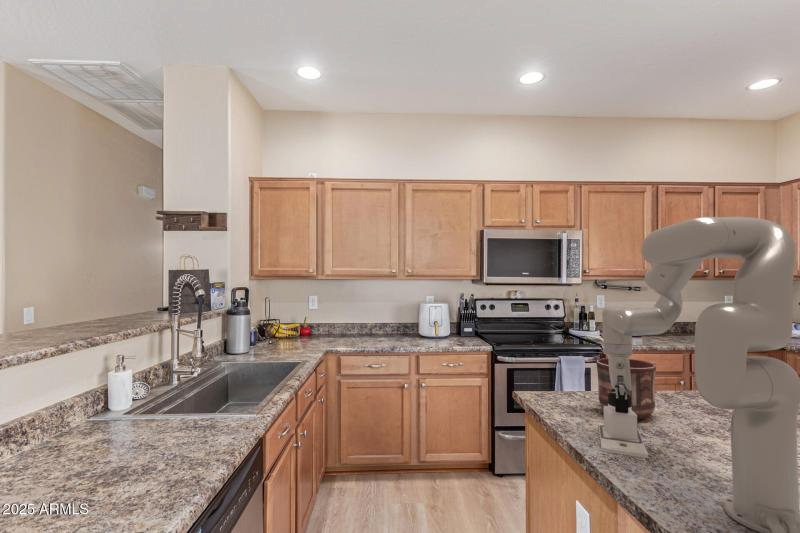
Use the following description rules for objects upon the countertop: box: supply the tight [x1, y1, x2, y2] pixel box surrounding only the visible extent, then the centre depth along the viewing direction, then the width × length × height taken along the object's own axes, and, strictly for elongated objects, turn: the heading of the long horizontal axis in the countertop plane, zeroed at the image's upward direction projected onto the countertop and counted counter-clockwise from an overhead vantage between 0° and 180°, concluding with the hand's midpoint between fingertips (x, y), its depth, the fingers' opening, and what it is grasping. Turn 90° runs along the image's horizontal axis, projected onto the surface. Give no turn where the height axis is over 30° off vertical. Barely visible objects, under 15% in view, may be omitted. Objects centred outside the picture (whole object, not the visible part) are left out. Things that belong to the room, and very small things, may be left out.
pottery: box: [595, 357, 657, 422], centre depth 134 cm, size 18×18×18 cm
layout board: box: [597, 422, 649, 459], centre depth 113 cm, size 20×11×1 cm, turn 156°
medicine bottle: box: [603, 392, 639, 440], centre depth 115 cm, size 7×7×12 cm
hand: (620, 407), depth 115 cm, fingers open, 9 cm apart
